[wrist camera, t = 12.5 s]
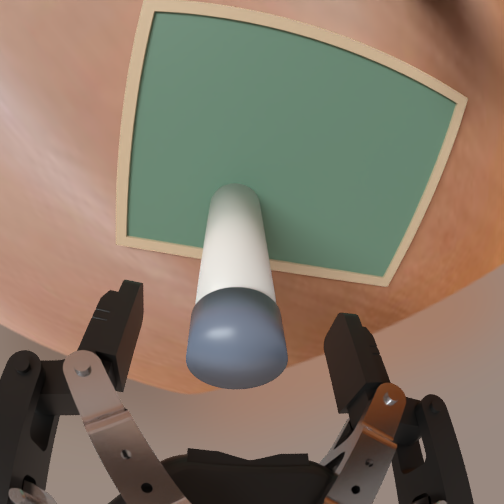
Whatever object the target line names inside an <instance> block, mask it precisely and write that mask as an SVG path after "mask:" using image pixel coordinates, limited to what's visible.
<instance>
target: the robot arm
mask: <svg viewBox="0 0 504 504" xmlns="http://www.w3.org/2000/svg"><path fill="white" fill-rule="evenodd" d="M142 320H143V283H140V282H134V281H129V280H124V281H123V283H122V285H121V287H120V290H119V292H116V291H111V290H110V291H108V292H107V293H106V294H105V295H104V296H103V297H101V299H100V301H99V303H98V305H97V307H96V310H95V312H94V314H93V317H92V318H91V320H90V323H89V325H88V327H87V330H86V332H85V334H84V336H83V339H82V341H81V344H80V346H79V348H78V350H77V351H75V352H73V353H71V354H70V355H68V356H67V358H66V359H64V360H58V361H40V359H39V357H38V356H37V355H36V354H35V353H33V352H31V351H27V350H24V351H19V352H16V353H15V354H13V355H12V356H11V357H10V358H9V360H8V362H7V364H6V367H5V369H4V371H3V374H2V376H1V379H0V504H57V503H56V501H55V499H54V498H53V497H52V496H51V495H50V494H49V493H47V492H46V491H45V488H46V482H47V475H48V469H49V463H50V458H51V453H52V448H53V443H54V438H55V434H56V429H57V425H58V421H59V417H60V415H80V416H81V418H82V420H83V423H84V426H85V429H86V431H87V433H88V435H89V437H90V439H91V441H92V443H93V446H94V448H95V449H96V452H97V453H98V455H99V457H100V459H101V461H102V463H103V465H104V467H105V469H106V470H107V472H108V474H109V475H110V477H111V479H112V481H113V483H114V484H115V486H116V488H117V489H118V491H119V493H120V495H118V496H117V497H116V498H115V499H113V500H112V501H111V502H110V503H108V504H372V503H373V501H374V499H375V497H376V495H377V493H378V491H379V488H380V486H381V484H382V482H383V480H384V477H385V475H386V473H387V471H388V468H389V466H390V463H391V461H392V466H393V471H394V477H395V483H396V489H397V495H398V501H399V504H474V503H473V498H472V494H471V489H470V485H469V481H468V477H467V473H466V469H465V465H464V462H463V458H462V454H461V451H460V448H459V444H458V441H457V438H456V434H455V432H454V428H453V425H452V422H451V419H450V416H449V413H448V410H447V407H446V405H445V403H444V402H443V400H442V399H441V398H440V397H438V396H436V395H432V394H429V395H427V396H425V397H424V398H423V399H422V400H421V401H420V400H415V399H412V398H408V397H405V394H404V392H403V391H402V390H401V389H400V388H399V387H398V386H396V385H394V384H392V383H390V380H389V377H388V374H387V372H386V369H385V366H384V364H383V361H382V358H381V356H380V355H379V354H380V353H379V350H378V348H377V345H376V343H375V340H374V337H373V335H372V334H371V333H370V332H369V330H368V329H367V328H366V327H362V324H361V322H360V319H359V317H358V315H356V314H348V313H339V314H338V315H337V317H336V319H335V321H334V322H333V324H332V326H331V328H330V330H329V332H328V333H327V335H326V337H325V341H324V352H325V356H326V360H327V364H328V368H329V373H330V377H331V381H332V386H333V390H334V395H335V399H336V403H337V408H338V413H339V414H340V413H349V419H348V420H347V421H346V423H345V425H344V426H343V428H342V430H341V432H340V434H339V435H338V437H337V439H336V441H335V442H334V444H333V446H332V448H331V449H330V451H329V452H328V454H327V455H326V456H325V457H324V458H323V459H322V461H321V462H320V463H319V464H318V463H316V462H313V461H309V460H308V454H278V455H274V456H270V457H265V458H261V459H256V460H246V459H242V458H239V457H235V456H232V455H229V454H225V453H222V452H219V451H209V450H199V449H190V448H188V451H187V454H185V455H178V456H173V457H170V458H167V459H165V460H163V461H161V462H160V461H159V460H158V458H157V457H156V455H155V453H154V452H153V450H152V449H151V447H150V446H149V444H148V442H147V441H146V439H145V438H144V436H143V434H142V433H141V431H140V429H139V428H138V426H137V424H136V423H135V421H134V419H133V417H132V416H131V414H130V413H129V411H128V410H127V409H125V407H124V406H123V404H122V402H121V400H120V399H119V397H118V395H117V393H116V391H119V392H123V391H124V387H125V383H126V379H127V375H128V371H129V368H130V364H131V360H132V357H133V353H134V349H135V346H136V342H137V339H138V335H139V332H140V329H141V325H142ZM421 437H422V440H423V444H424V448H425V452H426V460H425V462H424V460H423V456H422V453H421V448H420V444H419V439H420V438H421Z"/></svg>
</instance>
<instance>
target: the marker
mask: <svg viewBox="0 0 504 504" xmlns="http://www.w3.org/2000/svg"><path fill="white" fill-rule="evenodd" d="M287 362H288V355H287V349H286V343H285V337H284V331H283V325H282V319H281V313H280V310H279V308H278V306H277V304H276V298H275V292H274V286H273V279H272V273H271V267H270V261H269V255H268V249H267V243H266V237H265V231H264V225H263V219H262V213H261V208H260V202H259V198H258V196H257V194H256V193H255V192H254V191H253V190H252V189H251V188H249V187H248V186H246V185H243V184H238V183H233V184H227V185H225V186H222V187H221V188H219V189H218V190H217V191H216V192H215V193H214V195H213V196H212V198H211V202H210V208H209V214H208V220H207V226H206V233H205V239H204V246H203V253H202V259H201V266H200V274H199V281H198V288H197V296H196V304H195V306H194V308H193V311H192V314H191V322H190V329H189V338H188V346H187V354H186V363H187V366H188V368H189V370H190V371H191V373H192V374H193V375H194V376H195V377H197V378H198V379H199V380H201V381H203V382H205V383H207V384H209V385H212V386H216V387H220V388H225V389H247V388H253V387H257V386H261V385H264V384H266V383H268V382H270V381H272V380H274V379H275V378H277V377H278V376H279V375H280V374H281V373H282V372H283V371H284V369H285V368H286V365H287Z"/></svg>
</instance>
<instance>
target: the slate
mask: <svg viewBox="0 0 504 504" xmlns="http://www.w3.org/2000/svg"><path fill="white" fill-rule="evenodd" d="M467 100H468V98H466V97H465V96H463V95H462V94H460V93H459V92H457V91H456V90H454V89H452V88H451V87H449V86H447V85H446V84H444V83H442V82H441V81H439V80H437V79H435V78H434V77H432V76H430V75H428V74H426V73H425V72H423V71H421V70H419V69H417V68H415V67H413V66H411V65H409V64H407V63H405V62H403V61H401V60H399V59H397V58H395V57H393V56H391V55H389V54H387V53H384V52H382V51H380V50H378V49H375V48H373V47H371V46H368V45H366V44H363V43H361V42H358V41H356V40H353V39H351V38H348V37H345V36H343V35H340V34H337V33H334V32H331V31H328V30H325V29H322V28H319V27H316V26H313V25H310V24H306V23H303V22H299V21H296V20H292V19H288V18H284V17H281V16H276V15H272V14H268V13H264V12H259V11H254V10H249V9H244V8H238V7H232V6H226V5H219V4H212V3H204V2H195V1H184V0H144V1H143V5H142V9H141V13H140V17H139V21H138V25H137V30H136V34H135V39H134V44H133V49H132V54H131V59H130V64H129V70H128V76H127V82H126V89H125V96H124V103H123V111H122V120H121V129H120V140H119V152H118V166H117V186H116V245H120V246H126V247H132V248H138V249H144V250H150V251H156V252H162V253H168V254H174V255H180V256H186V257H192V258H199V259H202V253H203V246H204V239H205V233H206V226H207V220H208V214H209V208H210V202H211V198H212V196H213V195H214V193H215V192H216V191H217V190H218V189H219V188H221V187H222V186H225V185H227V184H233V183H238V184H243V185H246V186H248V187H249V188H251V189H252V190H253V191H254V192H255V193H256V194H257V196H258V198H259V202H260V208H261V213H262V219H263V225H264V231H265V237H266V243H267V249H268V255H269V261H270V267H271V270H275V271H281V272H288V273H295V274H301V275H308V276H315V277H322V278H328V279H335V280H342V281H349V282H356V283H363V284H370V285H377V286H384V287H388V285H389V283H390V281H391V279H392V278H393V276H394V274H395V272H396V270H397V268H398V267H399V265H400V263H401V261H402V259H403V257H404V255H405V253H406V251H407V249H408V247H409V245H410V243H411V241H412V239H413V237H414V235H415V233H416V231H417V229H418V227H419V225H420V223H421V221H422V219H423V216H424V214H425V212H426V210H427V208H428V205H429V203H430V201H431V199H432V196H433V194H434V192H435V189H436V187H437V185H438V182H439V180H440V177H441V175H442V172H443V170H444V167H445V165H446V162H447V160H448V157H449V154H450V152H451V149H452V146H453V143H454V141H455V138H456V135H457V132H458V129H459V126H460V123H461V120H462V117H463V114H464V110H465V107H466V104H467Z"/></svg>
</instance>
